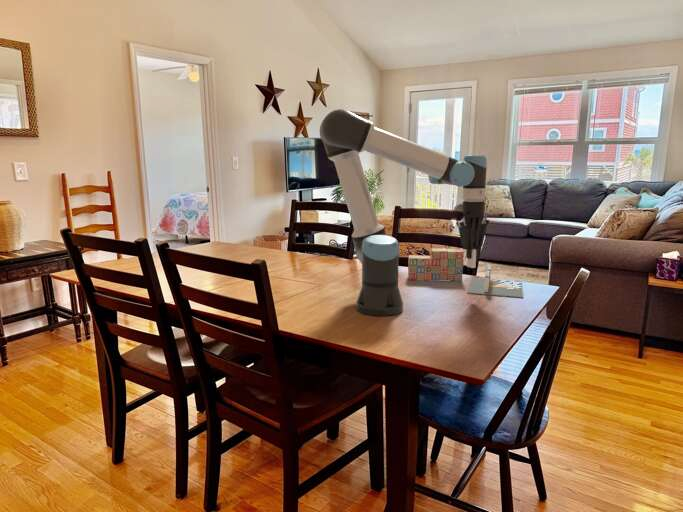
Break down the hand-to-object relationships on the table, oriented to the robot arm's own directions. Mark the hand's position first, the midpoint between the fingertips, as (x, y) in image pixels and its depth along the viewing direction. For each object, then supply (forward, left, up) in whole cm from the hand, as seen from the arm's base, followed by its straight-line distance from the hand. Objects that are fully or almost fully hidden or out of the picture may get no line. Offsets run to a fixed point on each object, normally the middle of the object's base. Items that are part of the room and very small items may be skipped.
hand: (471, 267), depth 169 cm
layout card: (+13, -8, -10) cm, 19 cm away
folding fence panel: (+9, -5, -10) cm, 14 cm away
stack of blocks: (+20, +15, -11) cm, 27 cm away
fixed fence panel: (+20, -5, -10) cm, 23 cm away
